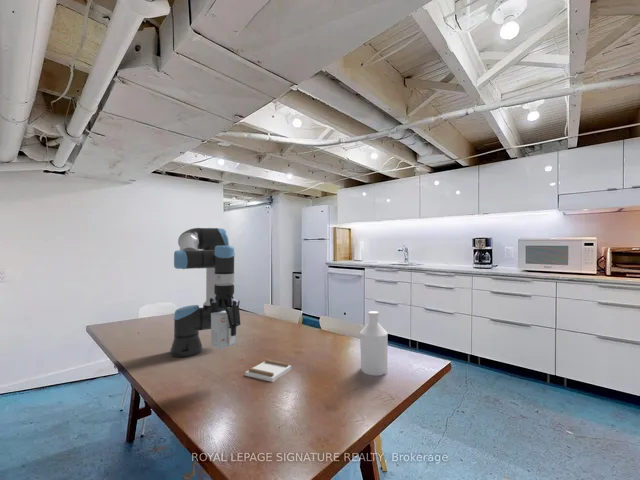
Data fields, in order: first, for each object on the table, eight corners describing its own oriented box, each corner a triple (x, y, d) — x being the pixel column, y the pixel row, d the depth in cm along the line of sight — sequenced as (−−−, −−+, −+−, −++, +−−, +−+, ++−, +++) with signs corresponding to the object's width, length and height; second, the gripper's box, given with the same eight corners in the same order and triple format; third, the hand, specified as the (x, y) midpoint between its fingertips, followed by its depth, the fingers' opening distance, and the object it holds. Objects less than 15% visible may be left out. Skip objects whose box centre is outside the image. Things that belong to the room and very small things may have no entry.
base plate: (245, 375, 124) (245, 369, 124) (265, 363, 137) (265, 358, 137) (272, 382, 118) (272, 375, 118) (291, 369, 131) (291, 363, 131)
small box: (228, 340, 122) (228, 309, 122) (237, 344, 118) (237, 311, 118) (210, 346, 116) (210, 312, 116) (219, 349, 112) (219, 315, 112)
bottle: (389, 366, 133) (388, 310, 134) (386, 377, 122) (385, 316, 122) (363, 363, 137) (362, 308, 137) (358, 373, 125) (357, 314, 126)
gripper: (198, 283, 119) (198, 341, 118) (237, 287, 110) (236, 349, 109) (213, 281, 125) (213, 336, 125) (250, 284, 116) (250, 343, 116)
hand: (224, 342), depth 117 cm, fingers closed on small box, 7 cm apart
